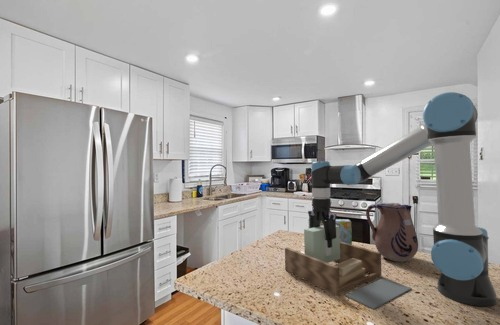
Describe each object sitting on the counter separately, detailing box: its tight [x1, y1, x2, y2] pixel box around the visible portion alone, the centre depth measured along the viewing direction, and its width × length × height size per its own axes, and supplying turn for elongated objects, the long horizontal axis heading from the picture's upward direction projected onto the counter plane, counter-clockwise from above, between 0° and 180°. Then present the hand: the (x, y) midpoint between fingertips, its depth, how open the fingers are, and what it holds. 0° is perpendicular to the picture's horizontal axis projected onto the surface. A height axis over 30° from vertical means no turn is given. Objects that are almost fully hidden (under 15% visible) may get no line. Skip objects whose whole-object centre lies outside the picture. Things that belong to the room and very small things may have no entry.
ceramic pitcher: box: [365, 202, 419, 262], centre depth 122 cm, size 18×21×25 cm
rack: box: [284, 241, 382, 296], centre depth 106 cm, size 26×27×9 cm
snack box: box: [307, 218, 353, 245], centre depth 137 cm, size 21×6×15 cm, turn 84°
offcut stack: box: [334, 258, 367, 287], centre depth 100 cm, size 5×16×6 cm, turn 123°
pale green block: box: [303, 226, 340, 264], centre depth 110 cm, size 5×16×14 cm, turn 123°
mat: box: [344, 277, 412, 310], centre depth 89 cm, size 10×23×1 cm, turn 123°
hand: (322, 253), depth 110 cm, fingers closed on pale green block, 5 cm apart
